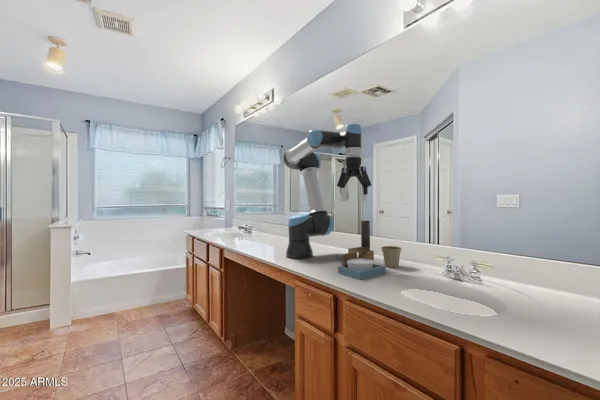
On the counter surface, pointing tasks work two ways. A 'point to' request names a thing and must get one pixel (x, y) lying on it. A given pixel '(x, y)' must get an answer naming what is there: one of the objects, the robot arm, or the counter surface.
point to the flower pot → (391, 255)
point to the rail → (340, 257)
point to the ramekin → (360, 264)
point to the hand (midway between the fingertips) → (353, 201)
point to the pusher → (362, 251)
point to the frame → (362, 272)
